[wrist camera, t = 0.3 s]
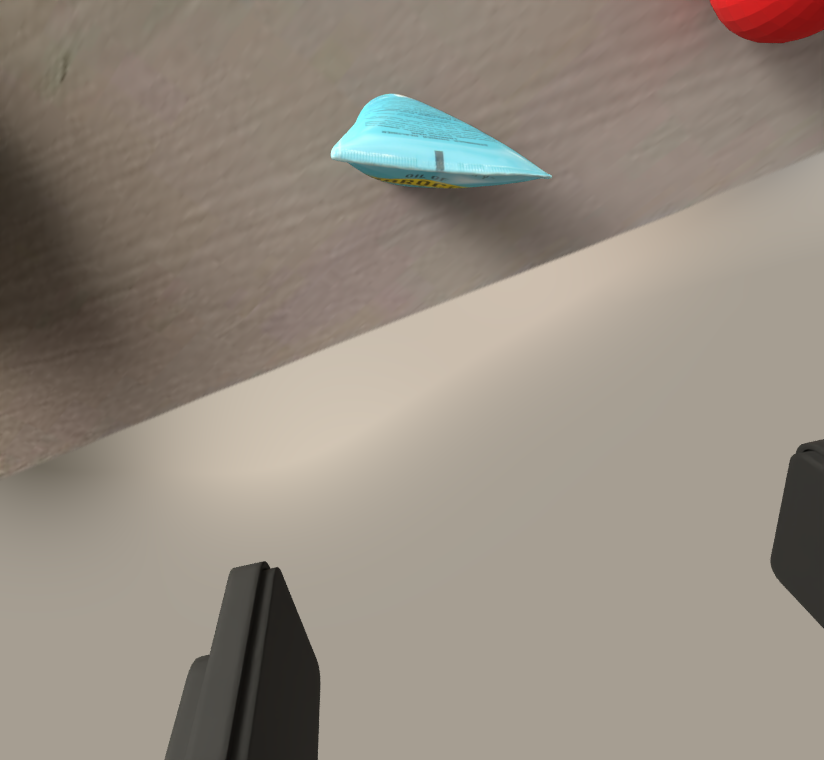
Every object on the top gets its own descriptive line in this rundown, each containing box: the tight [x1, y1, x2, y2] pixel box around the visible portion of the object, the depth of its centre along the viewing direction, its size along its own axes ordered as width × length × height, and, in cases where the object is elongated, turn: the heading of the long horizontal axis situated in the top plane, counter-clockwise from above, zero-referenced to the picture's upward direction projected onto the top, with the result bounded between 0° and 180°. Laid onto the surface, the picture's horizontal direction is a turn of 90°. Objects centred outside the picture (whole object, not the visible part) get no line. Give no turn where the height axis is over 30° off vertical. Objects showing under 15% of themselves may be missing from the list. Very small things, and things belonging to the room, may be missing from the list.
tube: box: [331, 94, 552, 188], centre depth 26 cm, size 7×5×19 cm, turn 90°
